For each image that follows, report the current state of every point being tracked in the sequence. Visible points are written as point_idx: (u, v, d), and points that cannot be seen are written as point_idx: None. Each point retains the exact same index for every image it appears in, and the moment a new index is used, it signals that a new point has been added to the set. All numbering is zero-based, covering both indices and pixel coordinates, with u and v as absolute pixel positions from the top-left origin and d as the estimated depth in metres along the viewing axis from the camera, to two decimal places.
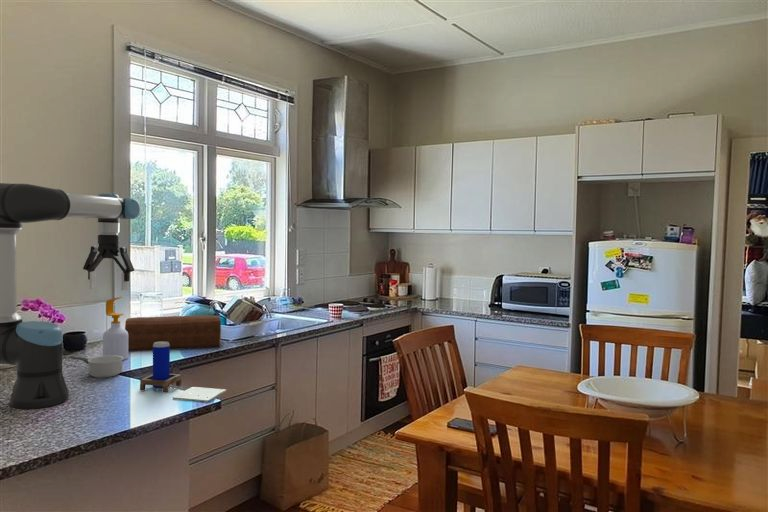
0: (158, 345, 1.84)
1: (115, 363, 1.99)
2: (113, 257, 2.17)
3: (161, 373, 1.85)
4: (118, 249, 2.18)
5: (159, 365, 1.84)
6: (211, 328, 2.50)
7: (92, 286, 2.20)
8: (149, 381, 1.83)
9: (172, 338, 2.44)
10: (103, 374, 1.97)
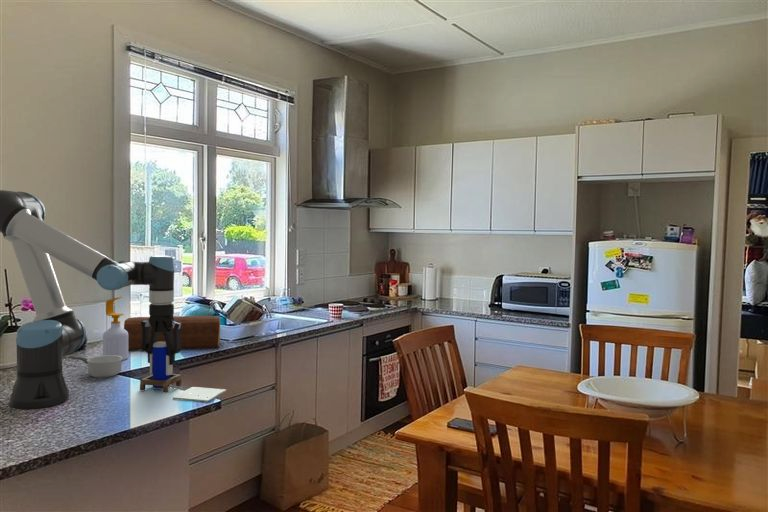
0: (158, 345, 1.84)
1: (114, 363, 1.99)
2: (164, 333, 1.84)
3: (161, 373, 1.85)
4: (173, 323, 1.85)
5: (159, 365, 1.84)
6: (209, 329, 2.47)
7: (152, 371, 1.87)
8: (149, 381, 1.83)
9: None
10: (102, 374, 1.97)
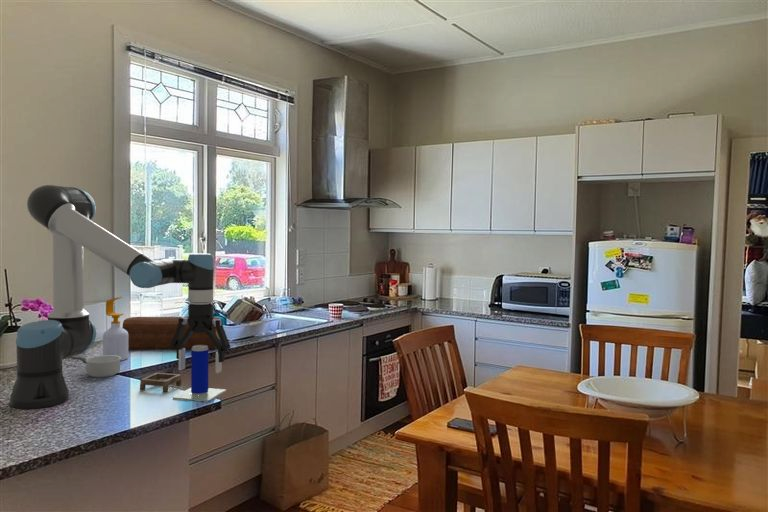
0: (197, 349, 1.77)
1: (113, 363, 1.99)
2: (207, 332, 1.77)
3: (200, 378, 1.78)
4: (213, 322, 1.78)
5: (198, 370, 1.77)
6: None
7: (181, 367, 1.80)
8: (149, 381, 1.83)
9: (167, 338, 2.42)
10: (101, 374, 1.97)
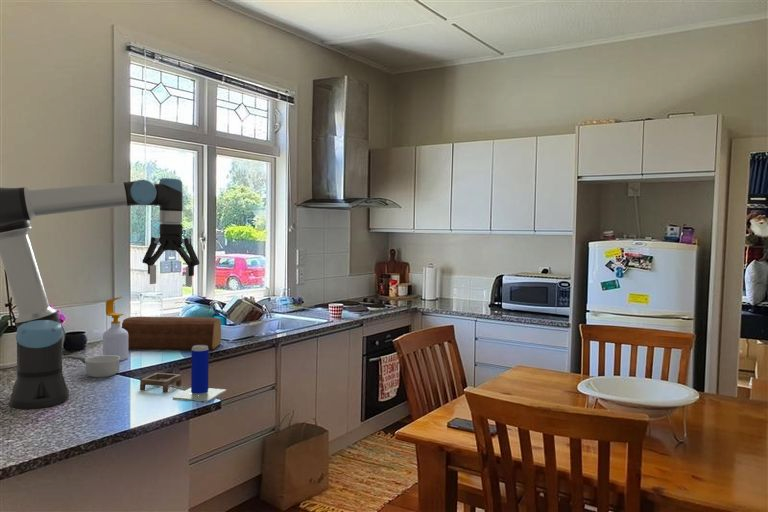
0: (197, 349, 1.77)
1: (112, 363, 1.99)
2: (177, 249, 1.95)
3: (200, 378, 1.78)
4: (182, 240, 1.96)
5: (199, 369, 1.77)
6: (203, 331, 2.43)
7: (152, 281, 1.98)
8: (149, 381, 1.83)
9: (165, 339, 2.42)
10: (100, 374, 1.97)
